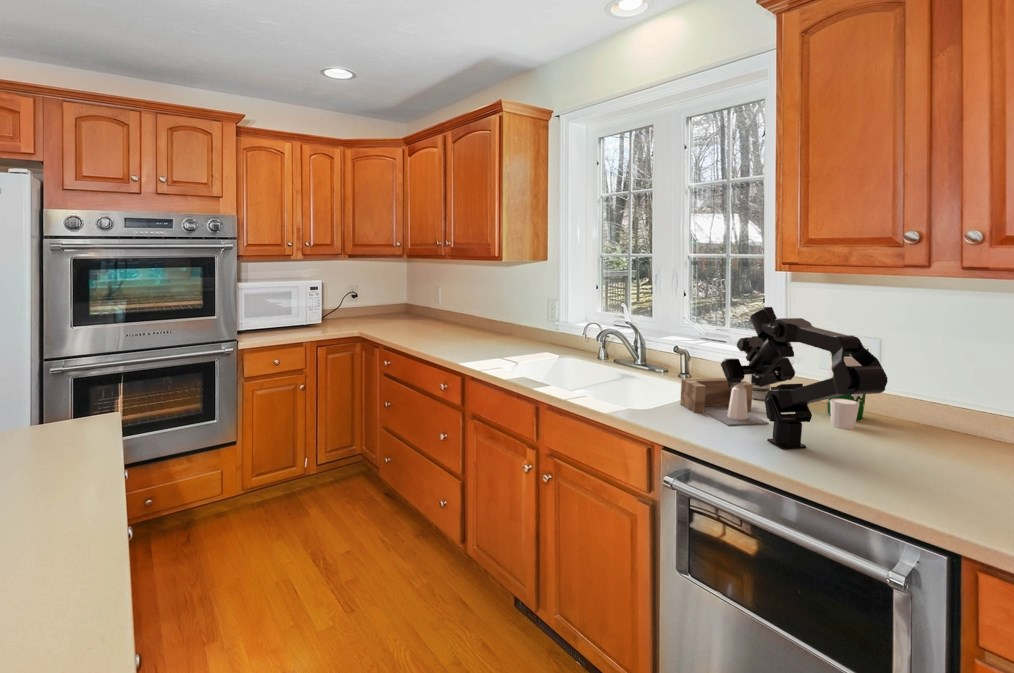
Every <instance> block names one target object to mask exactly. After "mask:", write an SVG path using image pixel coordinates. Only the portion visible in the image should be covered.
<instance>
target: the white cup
mask: <svg viewBox="0 0 1014 673" xmlns="http://www.w3.org/2000/svg"><path fill="white" fill-rule="evenodd" d="M859 404H860V403H859V402H856V401H853V400H848V399H831V400H830V408H831V416H830V426H831V425H832V427H833V426H834V428H836V427H837V429H841V428H843V429H842V430H853V429H852V428H854V427H856V424H857V421H856V419H857V414H858V409H859ZM854 429H855V428H854Z"/></svg>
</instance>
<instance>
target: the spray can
mask: <svg viewBox="0 0 1014 673" xmlns="http://www.w3.org/2000/svg"><path fill="white" fill-rule="evenodd" d="M751 337H758V335H755V336H751ZM758 338H759V337H758ZM760 339H761V340H762V341H763V342H765V341H766V340H765V339H762V338H760ZM747 377H748V378H747V382H748V383H750V384H753V389H752V400H756V399H757V400H758V401H765V397H766V395H767V392H768V391H769V390H771V384H770V385H767V386H763V387H760V386H759V382H760V380H761V379H762V378H763V376H755V375H747ZM757 400H756V401H757Z"/></svg>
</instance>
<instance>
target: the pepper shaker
mask: <svg viewBox="0 0 1014 673" xmlns="http://www.w3.org/2000/svg"><path fill="white" fill-rule="evenodd" d="M745 382H746V380H745V379H743V380H741V383H739V384H737V385H736V386H734V388H732V391H731V397H730V403H729V405H728V409H727V412H728V414H727V416H728V417H729V418H730V419H734V420H745V419H747V418H748V415H747V412H748V411H747V394H746V389H745V388H744V383H745Z"/></svg>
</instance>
